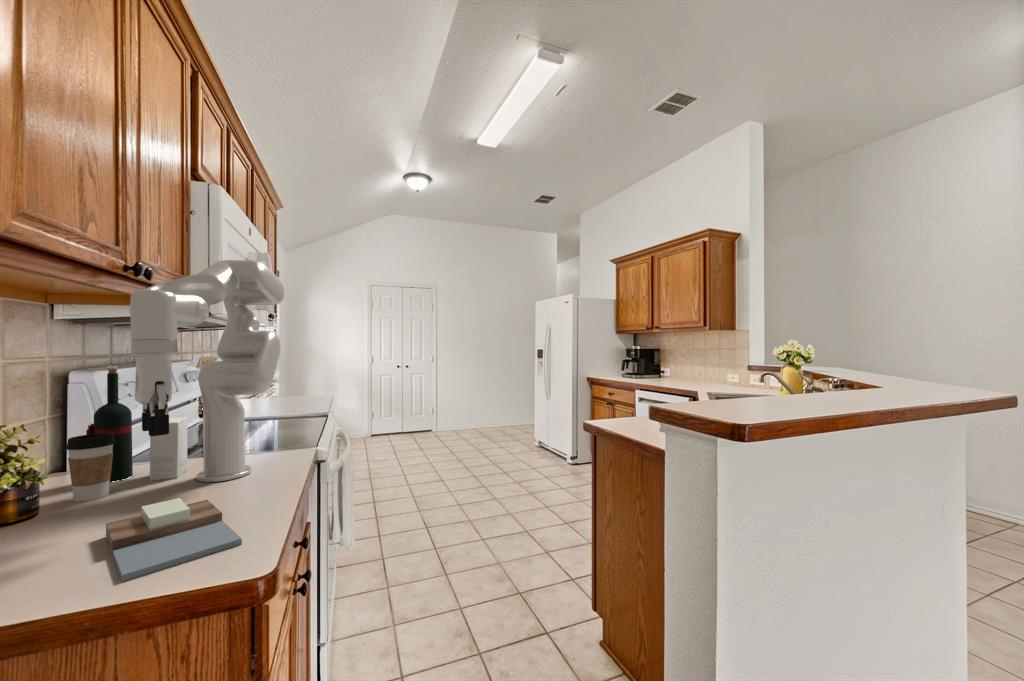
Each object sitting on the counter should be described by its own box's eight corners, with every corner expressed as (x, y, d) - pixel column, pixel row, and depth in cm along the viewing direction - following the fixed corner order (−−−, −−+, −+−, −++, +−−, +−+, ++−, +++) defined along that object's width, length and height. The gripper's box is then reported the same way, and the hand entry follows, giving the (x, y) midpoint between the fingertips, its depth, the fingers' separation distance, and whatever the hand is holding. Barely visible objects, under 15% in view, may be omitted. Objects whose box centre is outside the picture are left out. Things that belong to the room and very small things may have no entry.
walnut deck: (105, 536, 81) (105, 523, 81) (207, 511, 92) (207, 499, 92) (112, 555, 73) (112, 541, 73) (222, 525, 85) (222, 512, 85)
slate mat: (112, 556, 73) (112, 550, 73) (222, 525, 85) (222, 520, 85) (122, 581, 65) (122, 575, 65) (241, 544, 77) (241, 538, 77)
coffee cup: (99, 502, 99) (99, 437, 99) (55, 505, 97) (55, 439, 97) (124, 489, 107) (123, 430, 107) (83, 492, 105) (83, 432, 105)
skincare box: (161, 472, 121) (161, 417, 121) (189, 470, 124) (189, 416, 124) (148, 481, 113) (148, 423, 113) (178, 478, 116) (178, 421, 116)
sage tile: (141, 516, 84) (141, 506, 84) (179, 507, 88) (179, 497, 88) (149, 529, 78) (149, 518, 78) (190, 519, 82) (190, 508, 82)
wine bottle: (85, 480, 115) (84, 369, 116) (135, 473, 121) (134, 367, 121) (76, 488, 109) (76, 370, 109) (129, 480, 114) (129, 368, 115)
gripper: (125, 349, 93) (125, 430, 93) (137, 349, 81) (138, 441, 81) (168, 348, 99) (169, 425, 99) (186, 348, 87) (187, 435, 87)
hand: (155, 432), depth 90 cm, fingers open, 7 cm apart
